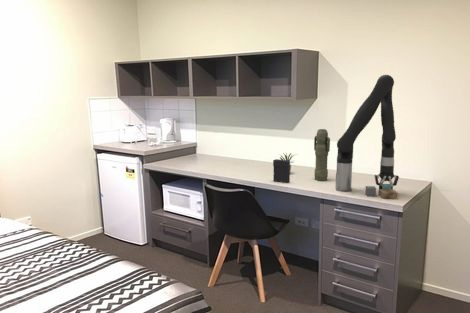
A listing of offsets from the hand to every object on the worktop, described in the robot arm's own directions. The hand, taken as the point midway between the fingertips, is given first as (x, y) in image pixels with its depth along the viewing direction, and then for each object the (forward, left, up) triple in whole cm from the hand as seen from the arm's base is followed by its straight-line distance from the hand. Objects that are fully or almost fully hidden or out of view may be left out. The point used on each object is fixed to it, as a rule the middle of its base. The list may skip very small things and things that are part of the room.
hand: (385, 191), depth 232 cm
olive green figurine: (-36, +31, -1) cm, 48 cm away
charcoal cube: (-10, -7, -1) cm, 12 cm away
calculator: (-63, +22, -1) cm, 67 cm away
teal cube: (0, 0, 0) cm, 0 cm away
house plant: (-59, +50, -1) cm, 77 cm away
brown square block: (-1, -10, -1) cm, 10 cm away
